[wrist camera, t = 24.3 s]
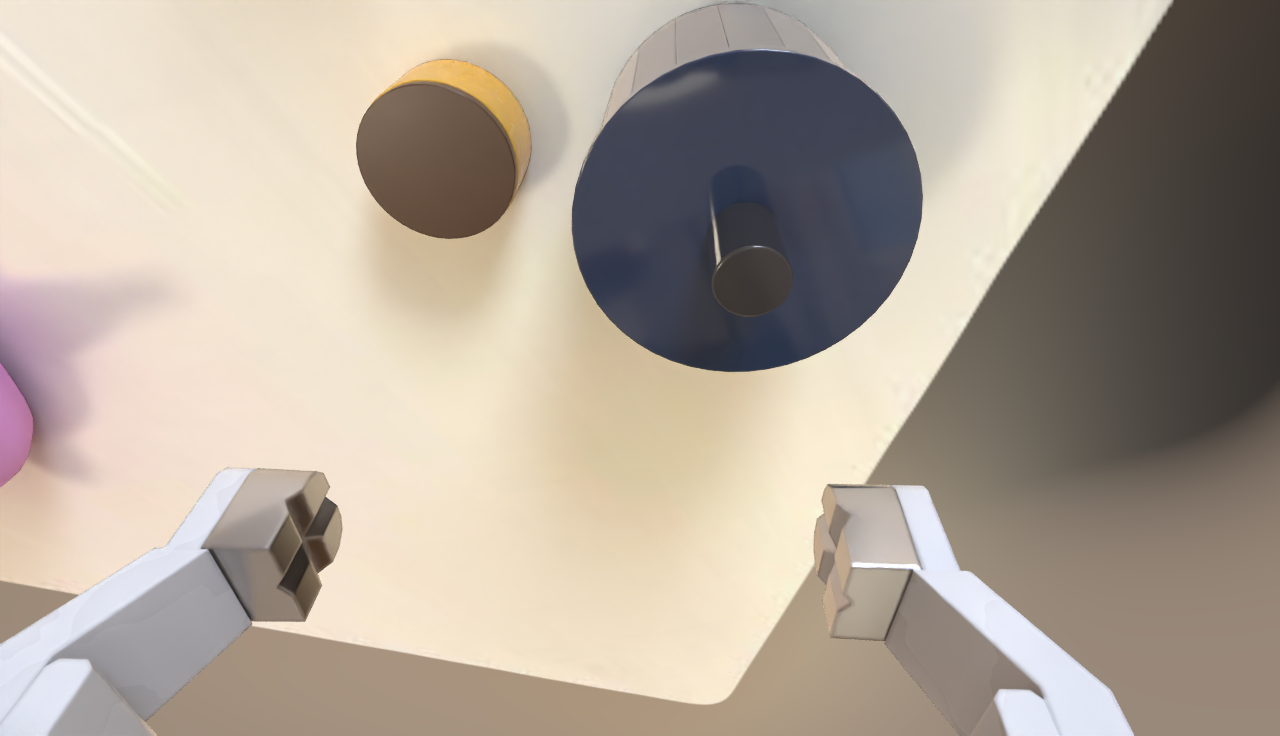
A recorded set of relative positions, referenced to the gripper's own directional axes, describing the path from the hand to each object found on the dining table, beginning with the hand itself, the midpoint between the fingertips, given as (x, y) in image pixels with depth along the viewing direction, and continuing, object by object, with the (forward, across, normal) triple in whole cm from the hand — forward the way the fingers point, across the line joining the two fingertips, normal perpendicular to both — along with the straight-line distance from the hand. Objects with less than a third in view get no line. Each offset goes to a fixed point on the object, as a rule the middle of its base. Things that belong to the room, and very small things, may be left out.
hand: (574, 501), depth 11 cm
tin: (+25, +8, +3) cm, 27 cm away
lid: (+16, -4, +3) cm, 17 cm away
